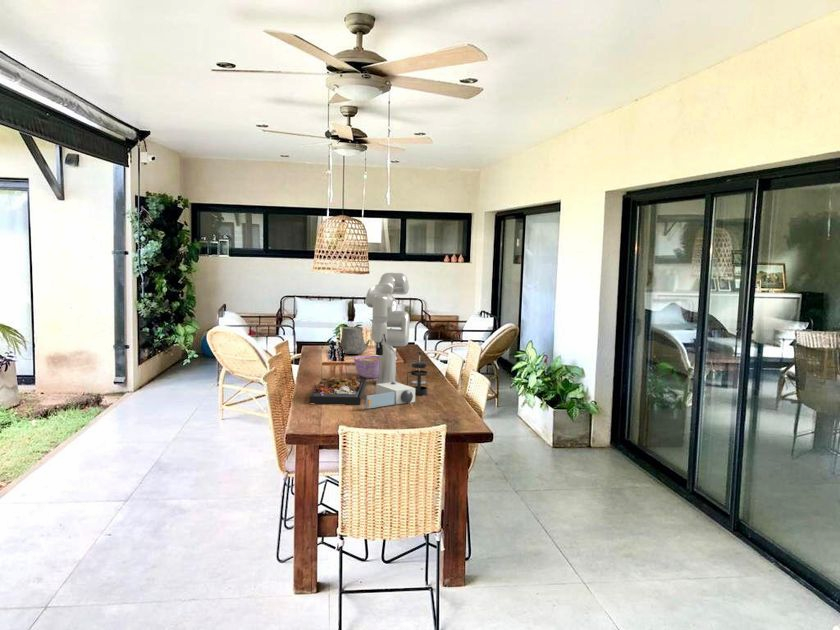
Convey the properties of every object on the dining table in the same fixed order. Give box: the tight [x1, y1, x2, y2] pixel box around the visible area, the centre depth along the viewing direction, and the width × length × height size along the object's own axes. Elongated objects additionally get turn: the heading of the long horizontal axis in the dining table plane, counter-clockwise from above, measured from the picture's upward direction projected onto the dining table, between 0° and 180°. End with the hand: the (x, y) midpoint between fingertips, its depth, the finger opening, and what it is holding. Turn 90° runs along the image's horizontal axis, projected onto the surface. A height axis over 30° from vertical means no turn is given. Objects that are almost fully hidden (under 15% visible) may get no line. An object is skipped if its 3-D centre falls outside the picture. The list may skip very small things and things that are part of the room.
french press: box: [406, 350, 429, 397], centre depth 337 cm, size 12×9×23 cm
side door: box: [365, 391, 397, 409], centre depth 306 cm, size 17×2×6 cm, turn 129°
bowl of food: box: [353, 355, 379, 379], centre depth 380 cm, size 20×20×12 cm
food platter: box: [309, 375, 367, 406], centre depth 332 cm, size 45×25×10 cm, turn 1°
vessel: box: [339, 326, 371, 355], centre depth 462 cm, size 22×22×20 cm
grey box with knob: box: [375, 381, 416, 406], centre depth 323 cm, size 20×12×8 cm, turn 37°
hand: (379, 354), depth 325 cm, fingers closed
